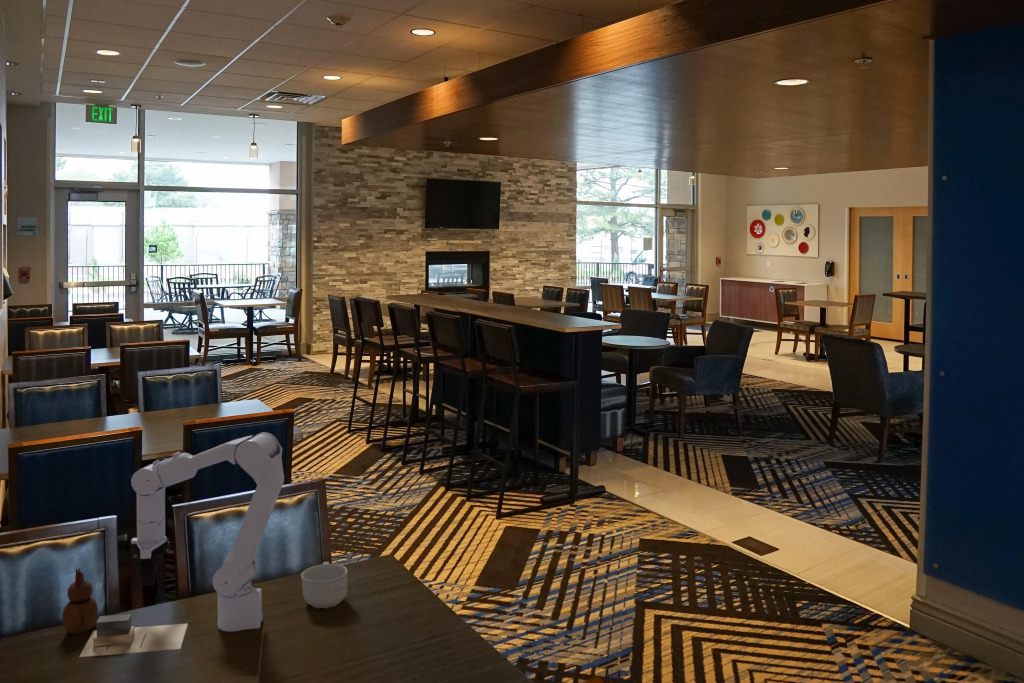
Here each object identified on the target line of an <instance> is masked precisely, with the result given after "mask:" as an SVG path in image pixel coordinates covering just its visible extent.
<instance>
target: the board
mask: <svg viewBox="0 0 1024 683" xmlns="http://www.w3.org/2000/svg"><path fill="white" fill-rule="evenodd" d="M188 625H189V624H188V623H178V624H177V623H176V624H175V623H174V624H162V625H151V626H149V625H148V626H147V625H146V626H136V627H135V626H134V633H135V635H134V637H133V640H132V642H131V644H130V645H120V646H107V647H95V648H93V638H94V636H95V634H96V632H97V629H94V630H93V631H92V633H91V634H90V637H89V638H88V640H87V642H86V644H85V645H84V648H83V649H82V651H81V653H80V655H79V657H78V658H85V657H87V658H88V657H96V656H97V657H98V656H110V655H111V656H112V655H124V654H125V655H126V654H136V653H148V652H150V653H151V652H161V651H170V650H171V651H173V650H181V648H182V644H183V641H184V638H185V636H186V631H187V630H188V629H187V628H188Z"/></svg>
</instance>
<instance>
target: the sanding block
mask: <svg viewBox="0 0 1024 683" xmlns="http://www.w3.org/2000/svg"><path fill="white" fill-rule="evenodd" d="M134 627H135V625H132V614H130V613H129V614H127V613H126V614H114V615H101V616H99V617H98V618H97V621H96V630H97V632H96V634H95V636H94V638H93V648H95V647H107V646H120V645H130V644H131V642H132V640H133V637H134V635H135V633H134Z"/></svg>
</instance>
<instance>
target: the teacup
mask: <svg viewBox="0 0 1024 683" xmlns="http://www.w3.org/2000/svg"><path fill="white" fill-rule="evenodd" d="M348 573H349V572H348V568H347V567H345V566H344V565H343V564H342V565H341V564H336V563H330V562H329V561H324V562H322V564H318V565H314V566H313V565H312V566H311V567H309V568H306V569H304V570H303V571H302V572H301V573H300V578H301V584H302V585H301V586H302V596H303V599H304V601H305V602H306V603H307V604H308V605H310V606H312V607H313V608H315V607H316V609H320V608H324V609H330V608H329V607H331V608H333V606H334V607H336V606H337V605H339V604H340V603H341V602H342V601H343V600H344V599H345V598H346V596H347V594H348Z"/></svg>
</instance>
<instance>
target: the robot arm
mask: <svg viewBox="0 0 1024 683" xmlns="http://www.w3.org/2000/svg"><path fill="white" fill-rule="evenodd" d="M282 455H283V448H282V446H281V444H280V443H279V441H278V439H277V438H276V436H275V435H273V434H272V433H269V432H260V433H257V434H255V435H253V434H252V435H247V436H243V437H241V438H240V437H239V438H235V439H232V440H230V441H228V442H227V441H226V442H225V443H222V444H220V445H217V446H215V447H212V448H211V449H207V450H205V451H201V452H199V453H198V454H195V455H192V454H191V453H188V452H183V453H182V452H181V451H177V452H175V453H173V454H171V456H172V457H169V458H166V459H164V460H161V461H160V460H159V459H157V460H154V461H153V462H152V463H151V464H148V465H146V466H144V467H142V468H140V469H138V470H137V471H135V472H134V473H133V475H132V476H131V480H130V482H131V487H132V489H133V491H134V492H135V493H136V537H132V538H131V541H130V542H131V545H137V547H138V548H139V550H140V551H139V552H140V553H138V554H137V553H134V555H133V556H132V560H133V562H134V565H135V566H136V567H137V569H138V572H139V576H140V580H141V583H142V586H143V587H152V586H153V587H154V585H155V582H156V578H157V576H156V575H157V573H158V574H159V573H160V572H161V569H162V568H161V567H162V563H163V559H164V558H163V557H164V553H165V550H166V547H167V545H168V543H169V538H168V537H167V536H166V488H168V487H170V486H172V485H176V484H178V483H181V482H184V481H186V480H190V479H193V478H195V476H196V474H197V472H198V470H201V469H203V468H206V467H209V466H212V465H215V464H219V463H222V462H225V461H228V462H229V463H230V464H232V465H236V464H238V465H239V467H241V468H242V469H243V470H244V471H245V472H246V473H247V475H249V476H250V477H251V478H253V480H254V482H255V483H256V488H255V489H254V493H253V495H252V497H251V501H250V503H249V505H248V508H247V510H246V512H245V515H244V518H243V521H242V524H241V526H240V527H239V531H238V532H237V535H236V536H237V537H236V539H235V540H234V544H233V545H232V549H231V550H230V552H229V553H228V555H227V556H226V558H225V559H224V561H223V564H222V566H221V567H220V568H219V569H218V570H217V571H216V572H215V573H214V574H213V577H212V587H213V589H214V590H215V592H217V628H218V629H219V630H220V631H224V632H239V631H245V630H253V629H256V630H257V629H261V624H262V622H263V617H264V616H263V612H262V596H263V595H262V588H260V587H259V588H258V587H257V588H256V587H253V584H252V579H253V577H254V576H255V574H256V573H257V563H256V561H257V558H258V555H259V554H258V552H257V551H258V548H259V545H260V543H261V540H262V538H263V535H264V533H265V530H266V528H267V525H268V522H269V520H270V518H271V515H272V513H273V511H274V508H275V505H276V503H277V500H278V498H279V495H280V493H281V490H282V487H283V485H284V483H285V473H284V467H283V459H282V457H283V456H282Z"/></svg>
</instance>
